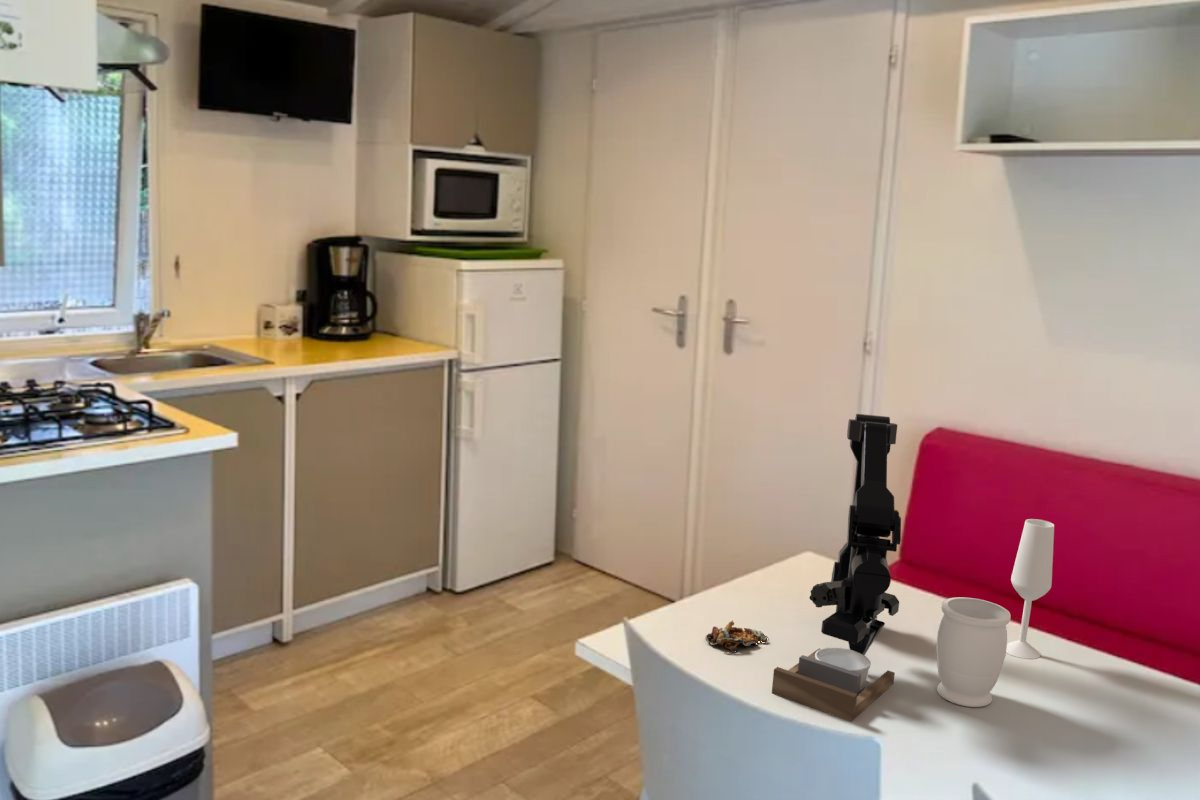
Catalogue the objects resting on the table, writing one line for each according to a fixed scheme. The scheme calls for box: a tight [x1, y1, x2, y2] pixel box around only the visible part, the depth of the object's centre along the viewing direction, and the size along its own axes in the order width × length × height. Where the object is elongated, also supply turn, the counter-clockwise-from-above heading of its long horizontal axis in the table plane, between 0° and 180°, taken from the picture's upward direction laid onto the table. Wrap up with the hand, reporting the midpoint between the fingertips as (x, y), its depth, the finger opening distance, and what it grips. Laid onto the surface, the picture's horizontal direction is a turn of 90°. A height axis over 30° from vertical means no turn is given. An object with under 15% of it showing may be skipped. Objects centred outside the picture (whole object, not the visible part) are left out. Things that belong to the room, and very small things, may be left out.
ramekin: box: [815, 646, 871, 692], centre depth 170 cm, size 9×9×4 cm
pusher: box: [798, 654, 861, 696], centre depth 166 cm, size 2×10×4 cm, turn 54°
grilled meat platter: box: [704, 619, 769, 656], centre depth 184 cm, size 7×12×4 cm, turn 128°
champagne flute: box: [1006, 518, 1055, 660], centre depth 186 cm, size 7×7×24 cm
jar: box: [936, 596, 1012, 708], centre depth 167 cm, size 11×10×15 cm
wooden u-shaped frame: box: [771, 647, 896, 722], centre depth 168 cm, size 17×13×4 cm
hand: (856, 662), depth 175 cm, fingers closed
